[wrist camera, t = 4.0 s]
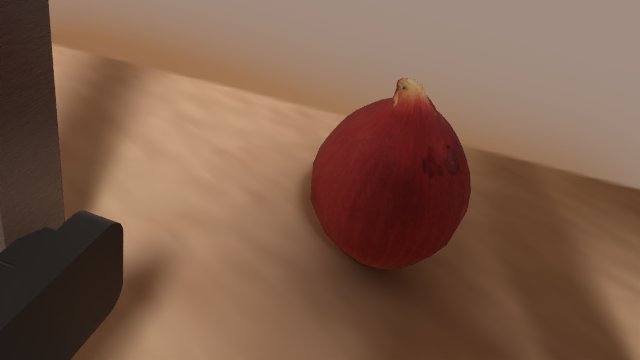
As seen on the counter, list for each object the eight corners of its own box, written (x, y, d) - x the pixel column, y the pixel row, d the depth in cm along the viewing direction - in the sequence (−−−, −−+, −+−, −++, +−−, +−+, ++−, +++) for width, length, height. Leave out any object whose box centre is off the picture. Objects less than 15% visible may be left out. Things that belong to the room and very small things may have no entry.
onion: (428, 226, 27) (487, 63, 23) (446, 324, 22) (526, 140, 18) (300, 205, 27) (335, 34, 22) (291, 300, 22) (333, 106, 17)
